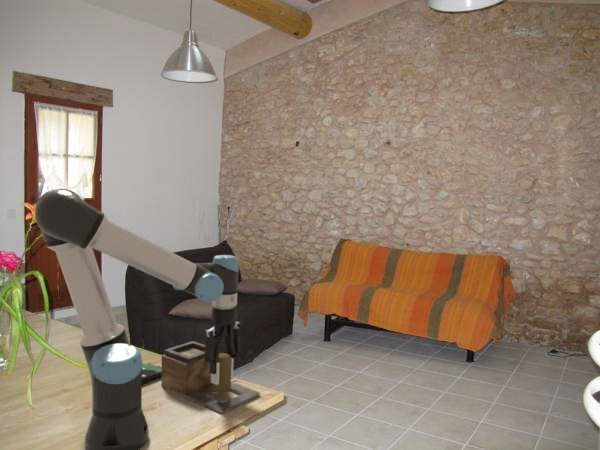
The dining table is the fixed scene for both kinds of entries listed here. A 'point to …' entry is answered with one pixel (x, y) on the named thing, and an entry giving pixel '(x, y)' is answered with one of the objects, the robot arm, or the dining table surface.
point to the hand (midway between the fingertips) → (221, 380)
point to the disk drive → (150, 373)
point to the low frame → (222, 408)
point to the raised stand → (185, 368)
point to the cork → (223, 374)
